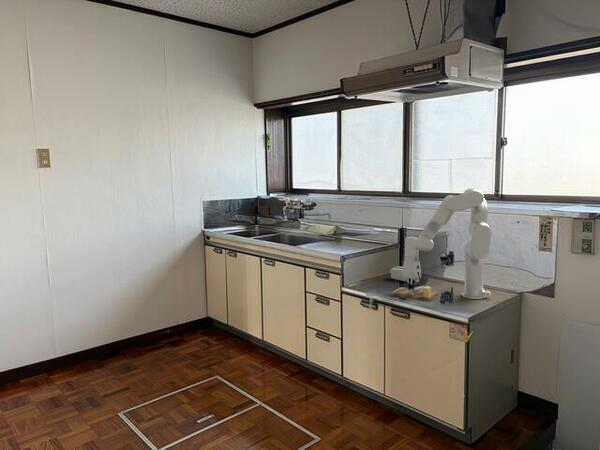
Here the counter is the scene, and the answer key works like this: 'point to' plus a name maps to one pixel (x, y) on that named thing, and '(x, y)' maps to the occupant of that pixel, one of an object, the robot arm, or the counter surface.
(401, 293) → the brown wooden board
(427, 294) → the keeper block
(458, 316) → the counter surface
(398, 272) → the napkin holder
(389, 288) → the counter surface
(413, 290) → the latch bar
